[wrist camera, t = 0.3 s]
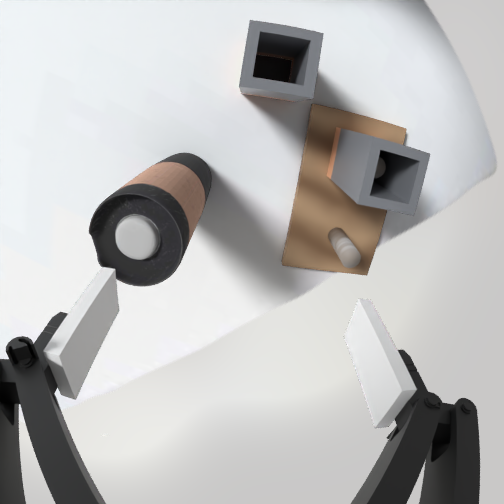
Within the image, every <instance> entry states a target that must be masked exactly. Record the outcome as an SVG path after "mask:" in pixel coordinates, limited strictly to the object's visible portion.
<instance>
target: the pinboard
mask: <svg viewBox="0 0 504 504" xmlns="http://www.w3.org/2000/svg"><path fill="white" fill-rule="evenodd" d="M336 127H338V128H342V129H346V130H350V131H355V132H358V133H362V134H366V135H370V136H374V137H377V138H381V139H384V140H388V141H391V142H395V143H398V144H401V145H403V144H404V139H405V134H406V128H402V127H399V126H396V125H393V124H390V123H387V122H383V121H380V120H377V119H373V118H370V117H366V116H362V115H359V114H355V113H351V112H347V111H343V110H339V109H335V108H330V107H326V106H322V105H317V104H312V106H311V111H310V117H309V123H308V129H307V134H306V140H305V145H304V151H303V156H302V162H301V167H300V172H299V178H298V183H297V188H296V193H295V198H294V203H293V209H292V214H291V219H290V224H289V229H288V233H287V238H286V243H285V248H284V253H283V258H282V265H283V266H291V267H299V268H308V269H316V270H325V271H333V272H342V273H351V274H360V275H367V274H368V271H369V268H370V265H371V262H372V259H373V256H374V252H375V249H376V246H377V243H378V240H379V237H380V233H381V230H382V227H383V223H384V220H385V216H386V213H387V210H385V209H380V208H375V207H370V206H365V205H360V204H357V203H356V202H355V201H354V200H353V199H351V198H350V197H349V196H348V195H347V194H346V193H345V192H344V191H343V190H342V189H341V188H340V187H339V186H337V185H336V184H335V183H334V182H333V181H332V180H331V179H330V178H329V177H327V172H328V167H329V162H330V157H331V152H332V147H333V142H334V137H335V132H336ZM385 169H386V165H385V162H384V160H383V159H382V158H380V157H379V159H378V163H377V167H376V172H375V176H374V178H379V177H381V176H382V175H383V174H384V172H385Z"/></svg>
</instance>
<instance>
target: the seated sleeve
mask: <svg viewBox="0 0 504 504" xmlns="http://www.w3.org/2000/svg"><path fill="white" fill-rule="evenodd" d="M379 157H380V158H382V159H383V160H384V162H385V165H386V169H385V172H384V174H383V175H382V176H381V177H379V178H374V176H375V172H376V167H377V163H378V159H379ZM429 157H430V154H429V153H426V152H423V151H420V150H417V149H414V148H411V147H408V146H405V145H401V144H398V143H395V142H391V141H388V140H384V139H381V138H377V137H374V136H370V135H366V134H362V133H358V132H355V131H350V130H346V129H342V128H338V127H336V132H335V137H334V142H333V147H332V152H331V157H330V162H329V167H328V172H327V177H329V178H330V179H331V180H332V181H333V182H334V183H335V184H336V185H337V186H339V187H340V188H341V189H342V190H343V191H344V192H345V193H346V194H347V195H348V196H349V197H350V198H351V199H353V200H354V201H355V202H356V203H357V204H360V205H365V206H370V207H375V208H380V209H385V210H390V211H394V212H399V213H404V214H408V215H413V216H414V214H415V211H416V207H417V204H418V200H419V197H420V193H421V189H422V186H423V182H424V178H425V174H426V170H427V166H428V161H429Z"/></svg>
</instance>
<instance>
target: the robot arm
mask: <svg viewBox="0 0 504 504" xmlns="http://www.w3.org/2000/svg"><path fill="white" fill-rule="evenodd" d="M118 312H119V304H118V295H117V284H116V272H115V269H112V268H106V267H102V268H101V270H100V271H99V272H98V273H97V275H96V276H95V277H94V279H93V280H92V281H91V283H90V284H89V285H88V287H87V288H86V289H85V291H84V292H83V294H82V295H81V296H80V298H79V299H78V300H77V302H76V303H75V305H74V306H73V307H72V309H71V310H70V312H69V313H68V314H67V313H63V312H60V313H58V314H57V315H55V316H54V317H52V319H51V320H50V321H49V323H48V324H47V326H46V327H45V328H44V330H43V332H42V333H41V334H40V336H39V337H38V338H37V340H36V341H35V343H34V344H33V342H32V340H31V339H29V338H28V337H24V336H22V337H16V338H14V339H12V340H11V341H10V342H9V343H8V345H7V346H6V353H7V355H8V357H9V359H10V360H9V359H0V504H26V502H25V496H24V490H23V482H22V473H21V462H20V448H19V423H18V422H19V404H21V408H22V412H23V416H24V419H25V423H26V426H27V430H28V433H29V436H30V439H31V442H32V446H33V448H34V451H35V454H36V457H37V460H38V463H39V465H40V468H41V470H42V473H43V475H44V478H45V480H46V483H47V485H48V488H49V490H50V492H51V494H52V497H53V499H54V501H55V503H56V504H106V503H105V502H104V500H103V498H102V496H101V494H100V493H99V491H98V489H97V487H96V486H95V484H94V482H93V480H92V478H91V477H90V474H89V473H88V471H87V469H86V467H85V465H84V463H83V461H82V458H81V457H80V454H79V452H78V450H77V448H76V446H75V444H74V442H73V439H72V437H71V434H70V432H69V430H68V427H67V425H66V422H65V420H64V417H63V415H62V412H61V409H60V407H59V404H58V401H57V399H56V396H55V394H54V393H55V391H56V389H57V387H58V389H59V391H60V394H61V395H63V396H66V397H69V398H72V399H75V400H76V398H77V396H78V394H79V391H80V389H81V387H82V385H83V383H84V380H85V378H86V376H87V374H88V372H89V370H90V368H91V365H92V363H93V361H94V359H95V357H96V355H97V353H98V351H99V349H100V347H101V345H102V343H103V341H104V339H105V337H106V335H107V333H108V331H109V329H110V327H111V325H112V323H113V321H114V320H115V318H116V316H117V314H118ZM344 339H345V341H346V344H347V347H348V350H349V353H350V355H351V358H352V361H353V364H354V367H355V370H356V372H357V376H358V378H359V381H360V384H361V387H362V390H363V393H364V396H365V399H366V402H367V406H368V409H369V412H370V415H371V418H372V421H373V424H374V427H375V428H382V427H389V426H390V424H391V423H392V422H393V421H394V419H395V421H396V424H397V426H396V427H395V429H394V430H393V431H392V432H391V433H390V434H389V436H388V437H387V439H389V440H388V442H387V444H386V446H385V447H384V449H383V451H382V453H381V455H380V457H379V459H378V460H377V462H376V464H375V466H374V467H373V469H372V471H371V472H370V474H369V476H368V478H367V479H366V481H365V483H364V484H363V486H362V487H361V489H360V490H359V492H358V493H357V495H356V497H355V498H354V500H353V501H352V503H351V504H406V503H407V501H408V499H409V497H410V495H411V492H412V490H413V488H414V485H415V483H416V481H417V479H418V477H419V474H420V472H421V469H422V467H423V464H424V462H425V459H426V463H425V470H424V478H423V485H422V491H421V498H420V502H419V504H479V490H480V447H479V430H478V417H477V409H476V406H475V405H474V403H473V402H471V401H470V400H468V399H466V398H461V399H459V400H458V401H457V402H456V403H455V404H454V405H453V404H447V403H442V401H441V399H440V398H439V397H438V396H437V395H435V394H434V393H431V392H428V391H427V389H426V387H425V385H424V383H423V381H422V379H421V377H420V375H419V373H418V372H417V369H416V367H415V366H414V363H413V361H412V359H411V357H410V356H409V355H408V354H407V353H406V352H405V351H404V350H397V348H396V346H395V344H394V342H393V340H392V338H391V337H390V334H389V332H388V331H387V329H386V327H385V325H384V323H383V321H382V319H381V317H380V316H379V314H378V312H377V310H376V308H375V306H374V305H373V303H372V301H371V299H370V300H369V299H358V302H357V304H356V307H355V309H354V312H353V315H352V317H351V320H350V322H349V325H348V327H347V330H346V332H345V335H344Z"/></svg>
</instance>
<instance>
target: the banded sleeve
mask: <svg viewBox="0 0 504 504" xmlns="http://www.w3.org/2000/svg"><path fill="white" fill-rule="evenodd" d="M322 40H323V33H320V32H315V31H311V30H306V29H302V28H297V27H291V26H286V25H280V24H274V23H268V22H261V21H253V20H250V23H249V29H248V35H247V41H246V47H245V53H244V59H243V65H242V71H241V77H240V84H239V88H240V91H241V94H247V95H254V96H261V97H268V98H274V99H280V100H286V101H291V102H296V101H302V100H308V99H313V97H314V91H315V85H316V78H317V72H318V66H319V60H320V53H321V47H322ZM256 55H263V56H269V57H276V58H281V59H287V60H292V63H291V69H290V76H289V82H288V83H287V82H281V81H275V80H269V79H262V78H255V77H253V71H254V65H255V59H256Z"/></svg>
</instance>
